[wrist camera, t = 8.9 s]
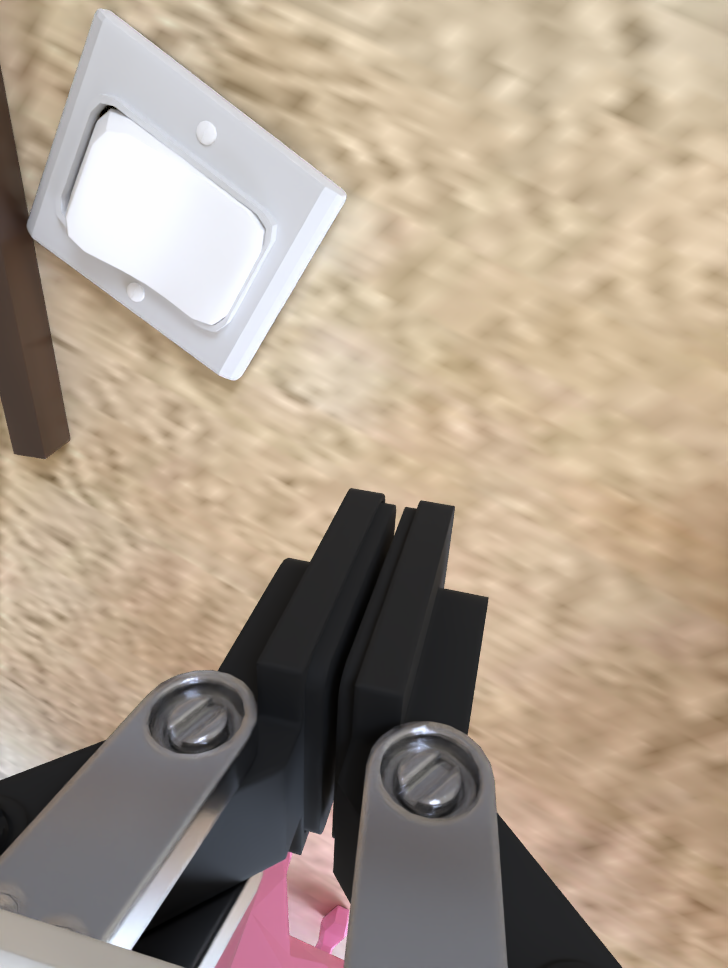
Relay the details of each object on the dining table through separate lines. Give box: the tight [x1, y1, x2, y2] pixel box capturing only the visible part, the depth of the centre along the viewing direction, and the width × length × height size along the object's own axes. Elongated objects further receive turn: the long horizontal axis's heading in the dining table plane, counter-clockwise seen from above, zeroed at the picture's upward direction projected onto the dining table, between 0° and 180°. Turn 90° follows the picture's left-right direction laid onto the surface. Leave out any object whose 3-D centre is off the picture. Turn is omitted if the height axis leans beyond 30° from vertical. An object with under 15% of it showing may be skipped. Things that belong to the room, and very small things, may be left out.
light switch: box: [27, 8, 347, 380], centre depth 32 cm, size 11×4×13 cm
